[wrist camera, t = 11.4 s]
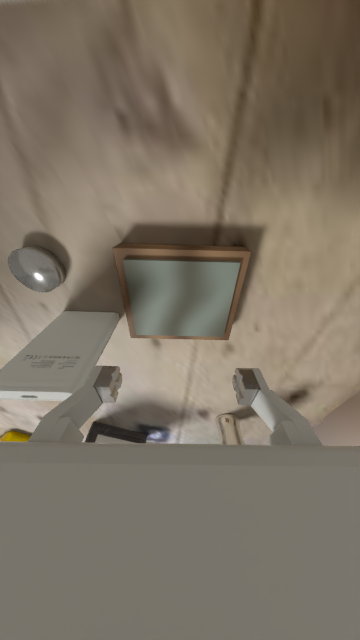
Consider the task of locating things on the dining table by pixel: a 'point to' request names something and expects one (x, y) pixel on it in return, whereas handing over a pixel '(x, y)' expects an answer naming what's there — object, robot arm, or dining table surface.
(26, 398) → the external hard drive
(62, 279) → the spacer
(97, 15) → the dining table surface
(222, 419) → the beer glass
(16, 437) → the element tile
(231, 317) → the mirror
